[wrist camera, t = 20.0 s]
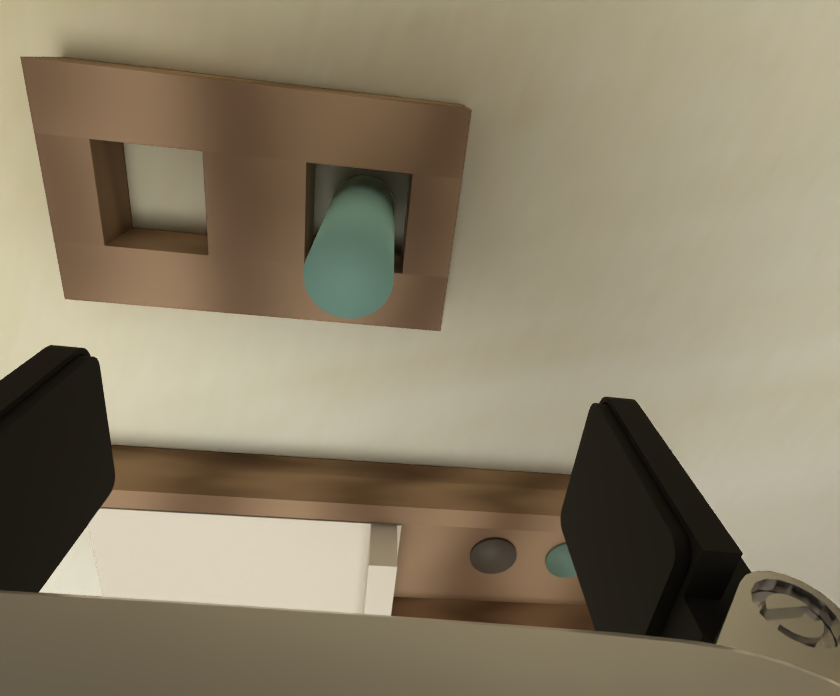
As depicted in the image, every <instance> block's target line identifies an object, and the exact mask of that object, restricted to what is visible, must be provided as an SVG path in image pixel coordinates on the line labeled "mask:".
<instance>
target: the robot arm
mask: <svg viewBox="0 0 840 696" xmlns="http://www.w3.org/2000/svg"><path fill="white" fill-rule="evenodd" d="M114 483H115V468H114V461H113V454H112V447H111V441H110V434H109V427H108V420H107V413H106V406H105V399H104V392H103V385H102V378H101V371H100V365H99V361H98V360H97V358H95V357H91V356H90V354H89V352H88V350H86V349H85V348H77V347H66V346H56V345H50V346H47V347H46V348H44V349H43V350H41V351H40V352H39V353H37V354H36V355H35V356H33V357H32V358H30V359H29V360H28V361H26V362H25V363H24V364H22V365H21V366H19V367H18V368H17V369H15V370H14V371H13V372H11V373H10V374H8V375H7V376H6V377H4V378H3V379H2V380H0V696H840V609H839V608H838V607H837V606H836V605H835V604H834V603H833V602H832V601H830V600H829V599H828V598H827V597H826V596H824V595H823V594H822V593H821V592H819V591H817V590H816V589H814V588H812V587H811V586H809V585H807V584H806V583H804V582H802V581H799V580H797V579H794V578H792V577H790V576H787V575H784V574H780V573H776V572H771V571H755V572H752V573H751V571H750V570H749V568H748V567H747V565H746V564H745V562H744V561H743V560H742V558H741V556H742V554H743V553H742V552H741V550H740V549H739V547H738V546H737V544H736V543H735V542H734V540H733V539H732V537H731V536H730V534H729V533H728V532H727V530H726V529H725V527H724V526H723V524H722V523H721V522H720V520H719V519H718V517H717V516H716V514H715V513H714V512H713V510H712V509H711V507H710V506H709V504H708V503H707V502H706V500H705V499H704V497H703V496H702V494H701V493H700V492H699V490H698V489H697V487H696V486H695V484H694V483H693V482H692V480H691V479H690V477H689V476H688V474H687V473H686V471H685V470H684V469H683V467H682V466H681V464H680V463H679V461H678V460H677V459H676V457H675V456H674V454H673V453H672V451H671V450H670V449H669V447H668V446H667V444H666V443H665V441H664V440H663V439H662V437H661V436H660V434H659V433H658V431H657V430H656V429H655V427H654V426H653V424H652V423H651V421H650V420H649V419H648V417H647V416H646V414H645V413H644V411H643V410H642V409H641V407H640V406H639V404H638V403H637V402H636V401H635V400H633V399H624V398H613V397H604V398H602V400H601V401H600V403H593V404H592V405H591V407H590V410H589V413H588V417H587V420H586V424H585V427H584V431H583V434H582V438H581V441H580V445H579V449H578V452H577V456H576V459H575V463H574V466H573V470H572V474H571V477H570V481H569V484H568V488H567V491H566V495H565V499H564V502H563V506H562V510H561V517H560V522H561V529H562V532H563V535H564V538H565V541H566V544H567V547H568V550H569V553H570V556H571V559H572V562H573V565H574V568H575V571H576V574H577V577H578V580H579V583H580V586H581V589H582V592H583V595H584V598H585V601H586V604H587V607H588V610H589V613H590V616H591V619H592V622H593V625H594V628H595V631H591V630H577V629H564V628H551V627H537V626H524V625H510V624H497V623H483V622H470V621H456V620H443V619H429V618H415V617H402V616H388V615H374V614H360V613H345V612H331V611H316V610H302V609H287V608H272V607H257V606H242V605H228V604H213V603H198V602H182V601H166V600H150V599H134V598H118V597H102V596H86V595H70V594H54V593H38V592H39V591H40V590H41V588H42V587H43V586H44V584H45V583H46V582H47V580H48V579H49V577H50V576H51V575H52V573H53V572H54V571H55V569H56V568H57V566H58V565H59V564H60V562H61V561H62V560H63V558H64V557H65V555H66V554H67V553H68V551H69V550H70V549H71V547H72V546H73V544H74V543H75V542H76V540H77V539H78V538H79V536H80V535H81V534H82V532H83V531H84V529H85V528H86V527H87V525H88V524H89V523H90V521H91V520H92V518H93V517H94V516H95V514H96V513H97V512H98V510H99V509H100V507H101V506H102V505H103V503H104V502H105V501H106V499H107V498H108V496H109V495H110V493H111V492H112V489H113V487H114Z"/></svg>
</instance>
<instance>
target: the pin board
mask: <svg viewBox="0 0 840 696" xmlns="http://www.w3.org/2000/svg"><path fill="white" fill-rule="evenodd" d="M21 63H22V68H23V73H24V79H25V84H26V90H27V95H28V101H29V106H30V112H31V117H32V122H33V128H34V133H35V139H36V144H37V150H38V155H39V161H40V166H41V171H42V177H43V182H44V188H45V193H46V199H47V204H48V210H49V215H50V220H51V226H52V231H53V237H54V242H55V248H56V253H57V258H58V264H59V269H60V275H61V280H62V286H63V291H64V297H65V299H71V300H83V301H95V302H106V303H118V304H130V305H141V306H153V307H165V308H176V309H188V310H200V311H212V312H223V313H235V314H247V315H258V316H270V317H282V318H293V319H305V320H317V321H328V322H340V323H352V324H363V325H375V326H387V327H399V328H410V329H422V330H434V331H440V330H441V323H442V316H443V309H444V302H445V295H446V288H447V281H448V274H449V267H450V260H451V253H452V245H453V238H454V231H455V224H456V217H457V210H458V203H459V196H460V189H461V182H462V175H463V168H464V160H465V153H466V146H467V139H468V132H469V125H470V118H471V111H472V110H470V109H469V108H467V107H466V106H464V105H459V104H450V103H442V102H434V101H425V100H417V99H409V98H400V97H392V96H384V95H375V94H367V93H358V92H350V91H342V90H333V89H325V88H317V87H308V86H300V85H292V84H283V83H275V82H266V81H258V80H250V79H241V78H233V77H225V76H216V75H208V74H199V73H191V72H183V71H174V70H166V69H158V68H149V67H141V66H133V65H124V64H116V63H107V62H99V61H91V60H82V59H74V58H66V57H21ZM123 143H133V144H142V145H151V146H160V147H170V148H179V149H188V150H197V151H203V168H204V185H205V202H206V219H207V235H202V234H192V233H182V232H171V231H161V230H150V229H140V228H133V227H132V218H131V210H130V201H129V193H128V184H127V176H126V168H125V159H124V151H123ZM315 163H317V164H326V165H336V166H345V167H354V168H363V169H372V170H382V171H391V172H400V173H409V174H410V178H409V188H408V198H407V208H406V218H405V228H404V238H403V248H402V254H399V253H394V283H393V288H392V291H391V294H390V296H389V298H388V299H387V301H386V302H385V303H384V304H383V305H382V306H381V308H379V309H378V310H377V311H375V312H373V313H372V314H370V315H367V316H364V317H361V318H352V319H348V318H341V317H337V316H334V315H331V314H329V313H327V312H325V311H324V310H322V309H321V308H320V307H318V306H317V305H316V304H315V303H314V302H313V300H312V299H311V298H310V296H309V294H308V292H307V290H306V288H305V284H304V278H303V269H304V264H305V261H306V258H307V256H308V254H309V251H310V249H311V247H312V245H313V219H314V182H315Z"/></svg>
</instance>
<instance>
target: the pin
mask: <svg viewBox="0 0 840 696" xmlns="http://www.w3.org/2000/svg"><path fill="white" fill-rule="evenodd" d="M303 278H304V284H305V288H306V290H307V292H308V294H309V296H310V298H311V299H312V300H313V302H314V303H315V304H316V305H317V306H318V307H320V308H321V309H322V310H324V311H325V312H327V313H329V314H331V315H334V316H337V317H341V318H348V319H352V318H361V317H364V316H367V315H370V314H372V313H373V312H375V311H377V310H378V309H379V308H381V306H382V305H383V304H384V303H385V302H386V301H387V299H388V298H389V296H390V294H391V291H392V288H393V283H394V200H393V196H392V194H391V192H390V190H389V189H388V188H387V186H386V185H385V184H384V183H383V182H381V181H380V180H378V179H376V178H374V177H371V176H365V175H360V176H354V177H351V178H349V179H347V180H346V181H344V182H343V183H342V184H341V185H340V186H339V188H338V189H337V191H336V193H335V195H334V197H333V200H332V202H331V204H330V206H329V209H328V211H327V213H326V215H325V218H324V220H323V222H322V224H321V227H320V229H319V231H318V233H317V236H316V238H315V240H314V242H313V245H312V247H311V249H310V251H309V254H308V256H307V258H306V261H305V264H304V269H303Z"/></svg>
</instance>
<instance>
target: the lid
mask: <svg viewBox="0 0 840 696" xmlns="http://www.w3.org/2000/svg"><path fill="white" fill-rule="evenodd" d="M401 526H402V524H397V523H380V522H362V521H344V520H327V519H309V518H291V517H274V516H256V515H238V514H221V513H203V512H185V511H168V510H150V509H132V508H115V507H100V509H99V510H98V512H97V513H96V514H95V516H94V517H93V518H92V520H91V521H90V523H89V524H88V528H89V533H90V538H91V543H92V547H93V552H94V557H95V562H96V567H97V572H98V577H99V582H100V587H101V592H102V597H118V598H134V599H150V600H166V601H182V602H198V603H213V604H228V605H242V606H257V607H272V608H287V609H302V610H316V611H331V612H345V613H360V614H374V615H388V616H391V611H392V603H393V596H394V588H395V580H396V573H397V557H398V549H399V541H400V533H401Z"/></svg>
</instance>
